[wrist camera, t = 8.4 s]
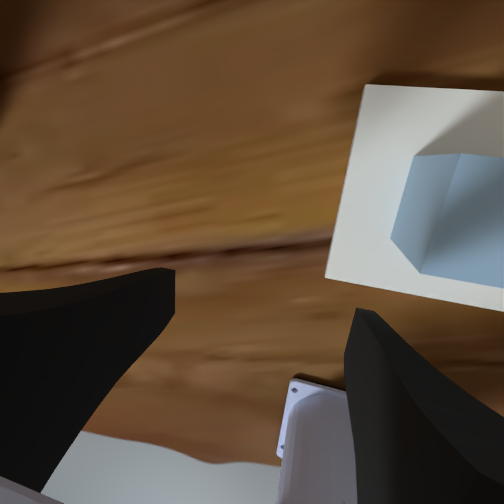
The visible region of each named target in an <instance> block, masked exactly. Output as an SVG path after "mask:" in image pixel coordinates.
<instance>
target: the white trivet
mask: <svg viewBox="0 0 504 504" xmlns="http://www.w3.org/2000/svg"><path fill="white" fill-rule="evenodd" d="M460 153H462V154H472V155H483V156H493V157H503V158H504V92H503V91H484V90H465V89H446V88H427V87H408V86H389V85H371V84H366V85H365V86H364V88H363V93H362V97H361V102H360V107H359V112H358V116H357V121H356V126H355V131H354V136H353V140H352V145H351V150H350V155H349V159H348V164H347V169H346V174H345V179H344V183H343V188H342V193H341V198H340V202H339V207H338V212H337V217H336V221H335V226H334V231H333V236H332V241H331V245H330V250H329V255H328V260H327V264H326V269H325V278H329V279H335V280H340V281H345V282H350V283H356V284H361V285H366V286H371V287H377V288H382V289H387V290H392V291H398V292H403V293H408V294H413V295H419V296H424V297H429V298H434V299H440V300H445V301H450V302H455V303H461V304H466V305H471V306H476V307H482V308H487V309H492V310H497V311H503V312H504V289H503V288H498V287H492V286H486V285H481V284H475V283H470V282H464V281H458V280H453V279H447V278H442V277H436V276H430V275H425V274H420V273H419V272H418V271H417V270H416V268H415V267H414V266H413V265H412V264H411V263H410V261H409V260H408V259H407V258H406V257H405V255H404V254H403V253H402V252H401V251H400V250H399V248H398V247H397V246H396V245H395V244H394V243H393V241H392V240H391V239H390V236H391V233H392V229H393V226H394V222H395V219H396V216H397V212H398V209H399V205H400V202H401V198H402V195H403V191H404V188H405V184H406V181H407V177H408V174H409V170H410V167H411V163H412V160H413V156H426V155H443V154H460Z"/></svg>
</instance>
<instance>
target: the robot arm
mask: <svg viewBox="0 0 504 504" xmlns="http://www.w3.org/2000/svg"><path fill="white" fill-rule="evenodd" d="M174 314H175V270H172V269H167V268H162V267H161V268H153V269H148V270H143V271H139V272H134V273H130V274H126V275H122V276H117V277H113V278H109V279H104V280H99V281H94V282H90V283H85V284H79V285H74V286H67V287H60V288H53V289H45V290H33V291H21V292H9V293H0V504H64V503H62V502H59V501H57V500H54V499H52V498H50V497H48V496H45V495H43V494H41V491H42V489H43V488H44V486H45V485H46V483H47V481H48V480H49V478H50V476H51V475H52V473H53V472H54V470H55V468H56V467H57V465H58V464H59V462H60V461H61V459H62V458H63V456H64V455H65V453H66V452H67V450H68V449H69V447H70V446H71V444H72V443H73V441H74V440H75V438H76V437H77V435H78V434H79V433H80V431H81V430H82V428H83V427H84V426H85V424H86V423H87V421H88V420H89V418H90V417H91V416H92V414H93V413H94V411H95V410H96V409H97V407H98V406H99V405H100V403H101V402H102V401H103V399H104V398H105V397H106V395H107V394H108V393H109V391H110V390H111V389H112V387H113V386H114V385H115V383H116V382H117V381H118V380H119V379H120V378H121V376H122V375H123V374H124V373H125V372H126V371H127V370H128V369H129V368H130V366H131V365H132V364H133V363H134V362H135V361H136V360H137V359H138V358H139V357H140V356H141V355H142V353H143V352H144V351H145V350H146V349H147V348H148V347H149V346H150V345H151V344H152V343H153V342H154V340H155V339H156V338H157V337H158V336H159V335H160V334H161V333H162V331H163V330H164V329H165V327H166V326H167V324H168V323H169V321H170V320H171V318H172V317H173V315H174ZM344 380H345V387H346V391H342V390H338V389H335V388H331V387H327V386H323V385H320V384H316V383H312V382H308V381H305V380H301V379H297V378H293V379H291V380H290V384H289V390H288V395H287V400H286V405H285V410H284V416H283V421H282V426H281V431H280V437H279V442H278V447H277V455H278V456H279V457H280V458H282V464H281V471H280V478H279V485H278V493H277V499H276V504H504V417H503V416H501V415H500V414H498V413H496V412H495V411H493V410H492V409H490V408H489V407H487V406H486V405H484V404H483V403H481V402H480V401H478V400H477V399H476V398H474V397H473V396H471V395H470V394H468V393H467V392H466V391H464V390H463V389H462V388H460V387H459V386H458V385H456V384H455V383H454V382H452V381H451V380H450V379H448V378H447V377H446V376H445V375H443V374H442V373H441V372H440V371H438V370H437V369H436V368H435V367H433V366H432V365H431V364H430V363H429V362H428V361H427V360H425V359H424V358H423V357H422V356H421V355H420V354H418V353H417V352H416V351H415V350H414V349H413V348H412V347H411V346H410V345H409V344H408V343H407V342H406V341H405V340H403V339H402V338H401V337H400V336H399V335H398V334H397V333H396V332H395V331H394V330H393V329H392V328H391V327H390V326H389V325H388V324H387V323H386V322H385V321H384V320H383V319H382V318H381V317H380V316H379V315H378V314H377V313H376V312H374V311H370V310H365V309H361V308H356V311H355V315H354V318H353V322H352V326H351V330H350V333H349V337H348V341H347V345H346V349H345V352H344ZM293 388H296V389H293Z"/></svg>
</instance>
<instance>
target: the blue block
mask: <svg viewBox="0 0 504 504" xmlns="http://www.w3.org/2000/svg"><path fill="white" fill-rule="evenodd" d="M390 239H391V240H392V241H393V243H394V244H395V245H396V246H397V247H398V248H399V250H400V251H401V252H402V253H403V254H404V255H405V257H406V258H407V259H408V260H409V261H410V263H411V264H412V265H413V266H414V267H415V268H416V270H417V271H418V272H419V273H420V274H425V275H430V276H436V277H442V278H447V279H453V280H458V281H464V282H470V283H475V284H481V285H486V286H492V287H498V288H503V289H504V158H503V157H493V156H483V155H472V154H462V153H460V154H443V155H426V156H413V160H412V163H411V167H410V170H409V174H408V177H407V181H406V184H405V188H404V191H403V195H402V198H401V202H400V205H399V209H398V212H397V216H396V219H395V222H394V226H393V229H392V233H391V236H390Z"/></svg>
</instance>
